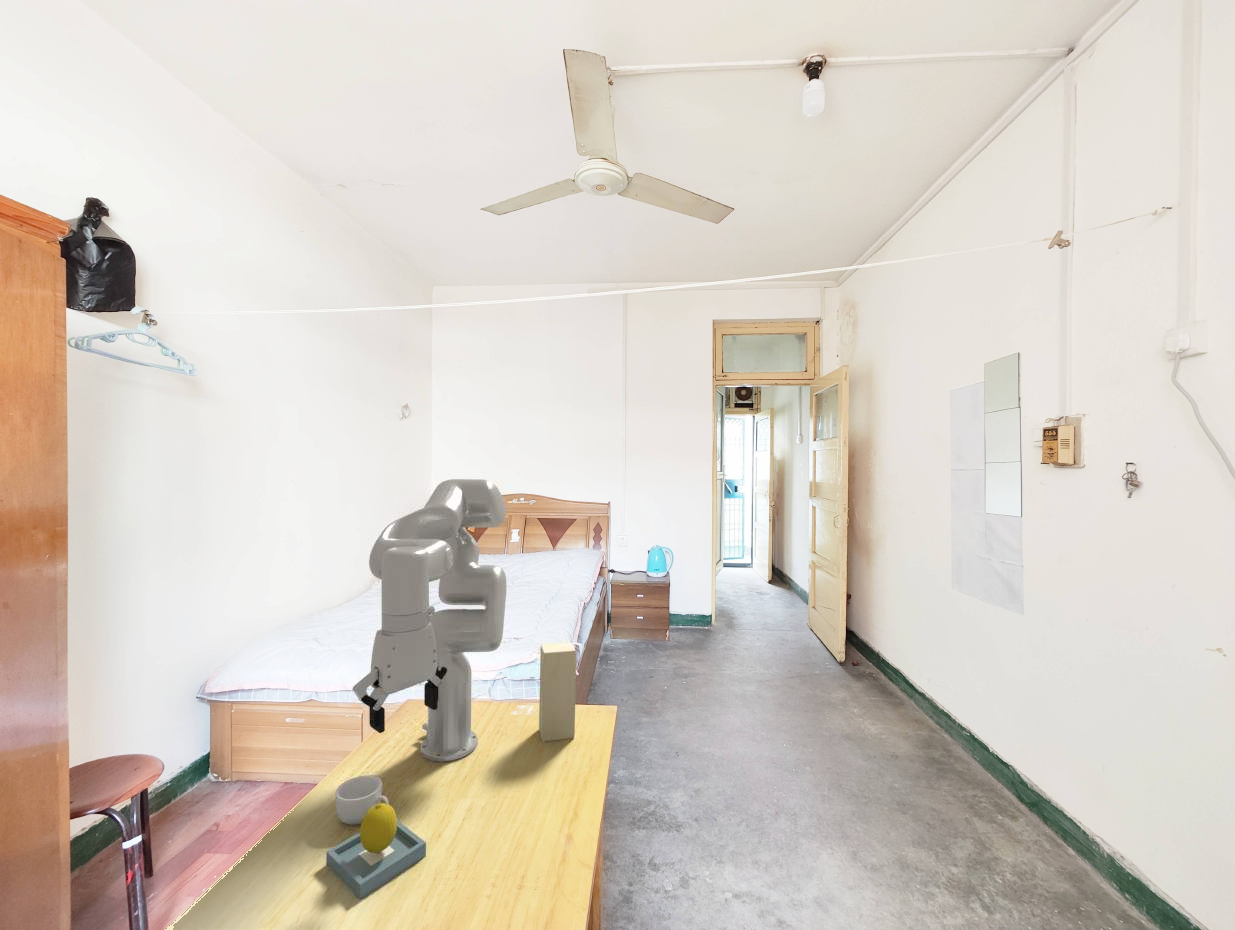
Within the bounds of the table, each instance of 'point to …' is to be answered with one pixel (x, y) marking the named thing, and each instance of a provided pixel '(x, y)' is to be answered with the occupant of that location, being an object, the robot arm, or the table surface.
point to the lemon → (378, 828)
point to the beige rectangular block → (557, 691)
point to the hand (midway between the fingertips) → (405, 718)
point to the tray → (374, 860)
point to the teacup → (358, 798)
